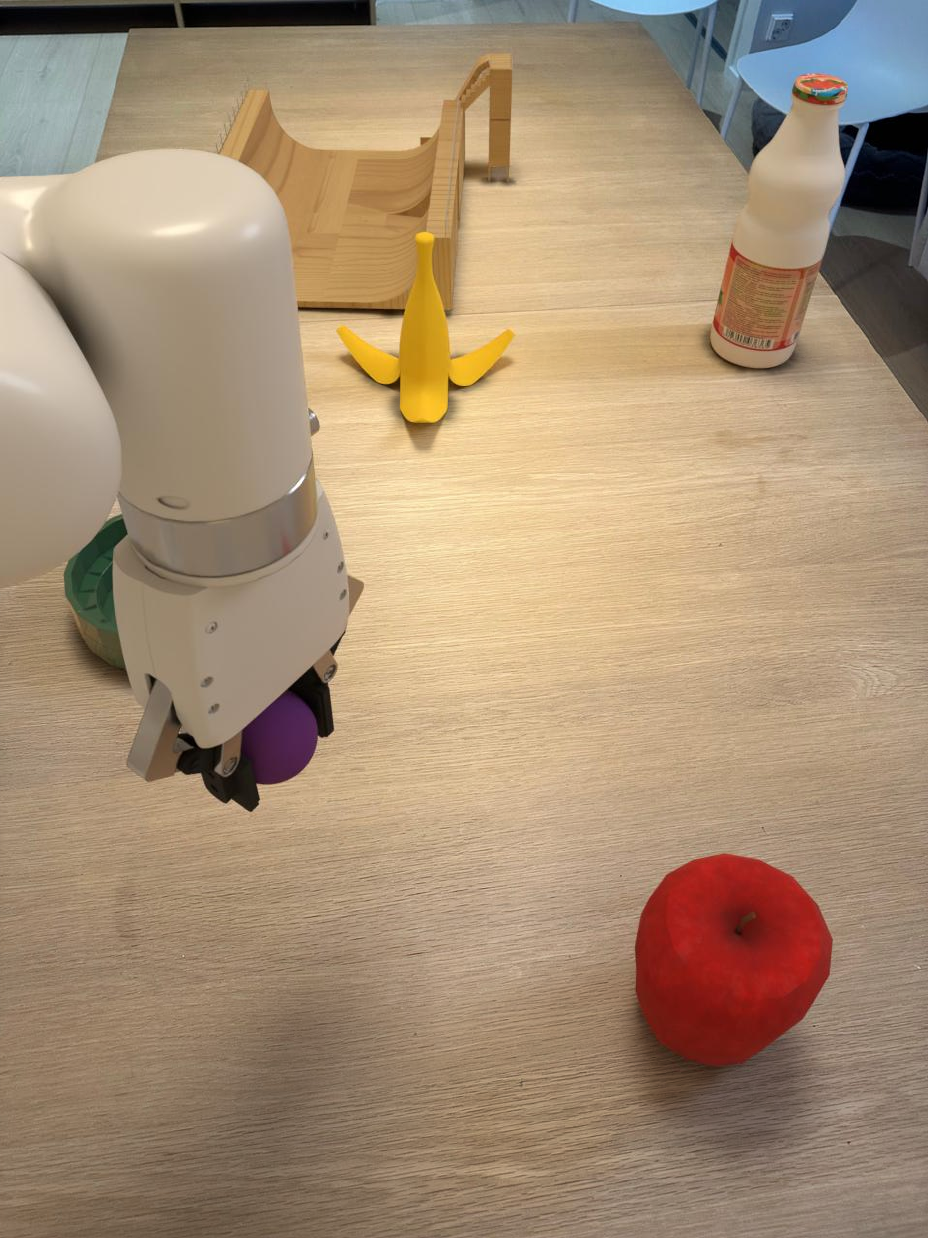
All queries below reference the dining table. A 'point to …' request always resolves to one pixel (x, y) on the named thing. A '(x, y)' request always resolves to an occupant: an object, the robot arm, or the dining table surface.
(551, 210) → the dining table surface
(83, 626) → the bowl
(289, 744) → the ball
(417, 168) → the skate ramp
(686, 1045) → the apple
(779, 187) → the milk bottle
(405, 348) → the banana peel
